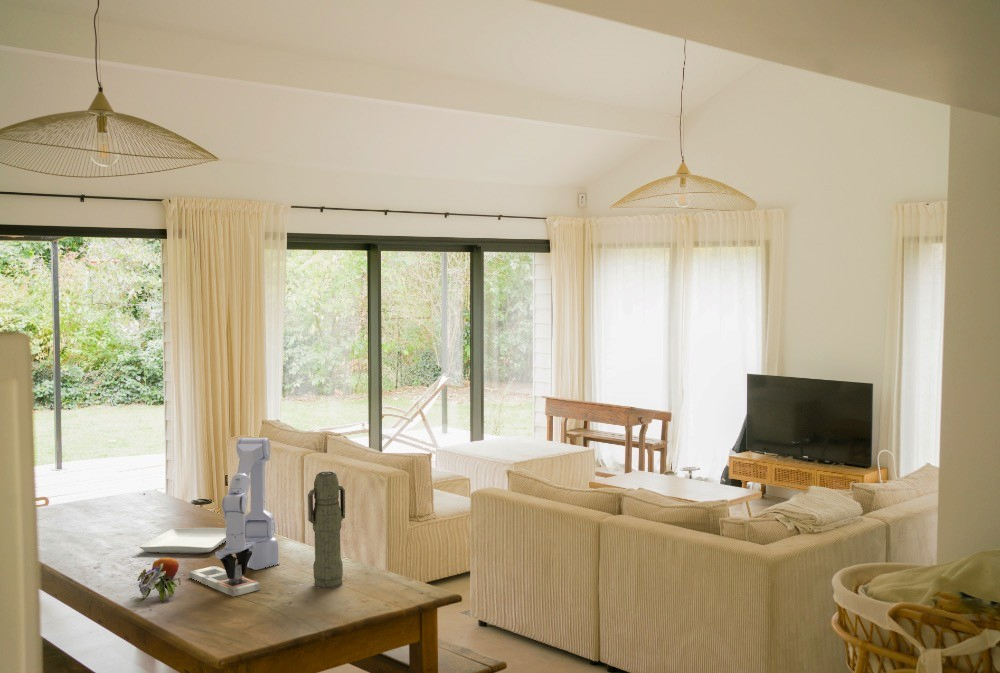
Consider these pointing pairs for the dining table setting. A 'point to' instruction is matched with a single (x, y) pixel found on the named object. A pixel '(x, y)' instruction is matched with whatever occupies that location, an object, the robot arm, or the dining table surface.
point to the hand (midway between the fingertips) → (236, 576)
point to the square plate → (186, 540)
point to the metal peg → (237, 575)
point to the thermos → (327, 529)
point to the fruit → (167, 566)
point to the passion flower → (156, 582)
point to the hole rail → (223, 581)
